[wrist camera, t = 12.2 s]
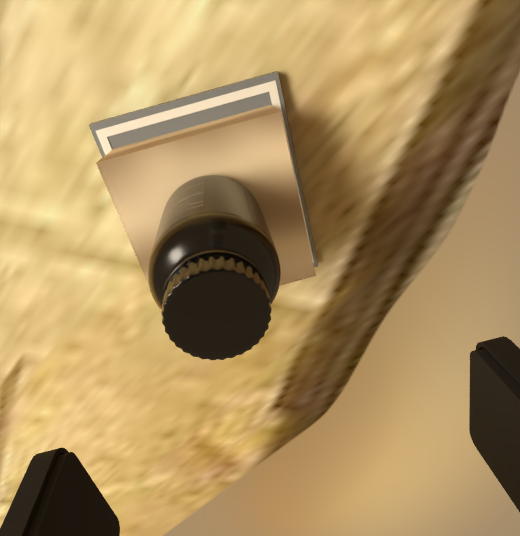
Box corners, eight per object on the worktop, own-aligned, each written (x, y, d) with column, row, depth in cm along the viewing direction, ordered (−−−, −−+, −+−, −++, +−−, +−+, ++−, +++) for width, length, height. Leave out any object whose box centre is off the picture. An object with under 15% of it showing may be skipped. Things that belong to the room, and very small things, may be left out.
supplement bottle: (168, 269, 30) (143, 384, 19) (157, 174, 27) (120, 247, 16) (263, 264, 30) (291, 373, 20) (263, 171, 27) (296, 239, 17)
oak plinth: (113, 148, 30) (96, 162, 26) (270, 104, 30) (280, 111, 26) (168, 285, 36) (162, 317, 31) (302, 249, 36) (315, 275, 31)
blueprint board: (92, 122, 30) (88, 124, 30) (275, 71, 30) (277, 71, 29) (166, 301, 38) (165, 308, 37) (315, 261, 37) (318, 266, 36)
